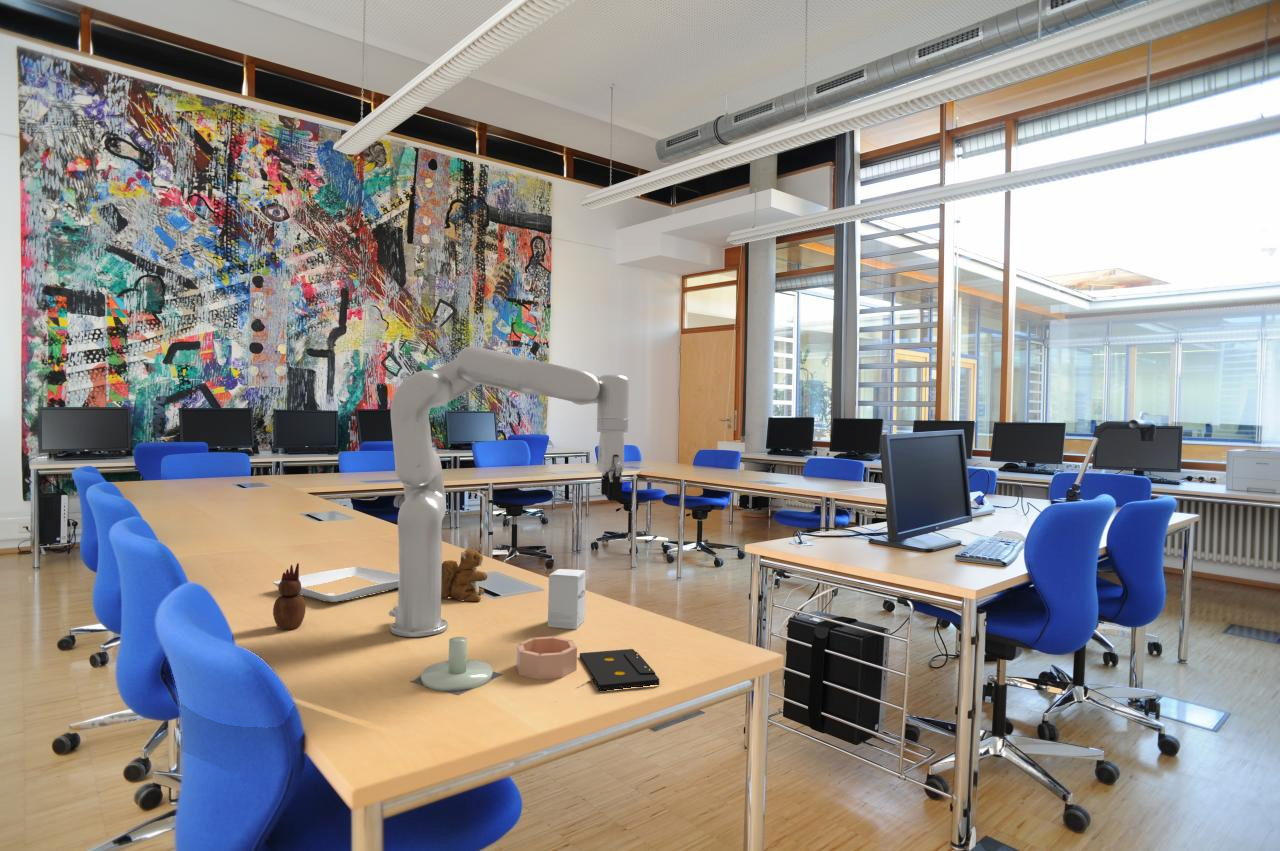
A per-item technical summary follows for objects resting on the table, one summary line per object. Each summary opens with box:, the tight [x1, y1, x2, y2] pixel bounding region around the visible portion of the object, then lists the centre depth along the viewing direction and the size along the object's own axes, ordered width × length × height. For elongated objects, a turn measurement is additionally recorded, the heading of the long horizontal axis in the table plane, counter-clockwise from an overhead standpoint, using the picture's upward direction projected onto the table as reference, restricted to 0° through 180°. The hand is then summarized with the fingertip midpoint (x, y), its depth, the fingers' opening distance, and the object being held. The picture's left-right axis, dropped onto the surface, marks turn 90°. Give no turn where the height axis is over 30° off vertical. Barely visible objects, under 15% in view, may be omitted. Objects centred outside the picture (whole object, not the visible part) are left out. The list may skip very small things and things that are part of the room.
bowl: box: [516, 635, 578, 680], centre depth 139 cm, size 11×11×5 cm
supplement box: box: [547, 568, 587, 630], centre depth 171 cm, size 7×7×13 cm
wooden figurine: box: [272, 562, 307, 630], centre depth 164 cm, size 7×6×15 cm
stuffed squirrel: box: [441, 548, 488, 602], centre depth 194 cm, size 10×14×13 cm
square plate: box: [272, 566, 399, 603], centre depth 199 cm, size 27×27×4 cm
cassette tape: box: [579, 648, 660, 692], centre depth 139 cm, size 18×12×2 cm, turn 17°
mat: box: [409, 671, 504, 696], centre depth 133 cm, size 12×12×1 cm
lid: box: [420, 636, 494, 692], centre depth 133 cm, size 13×13×7 cm
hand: (611, 496), depth 171 cm, fingers open, 9 cm apart
